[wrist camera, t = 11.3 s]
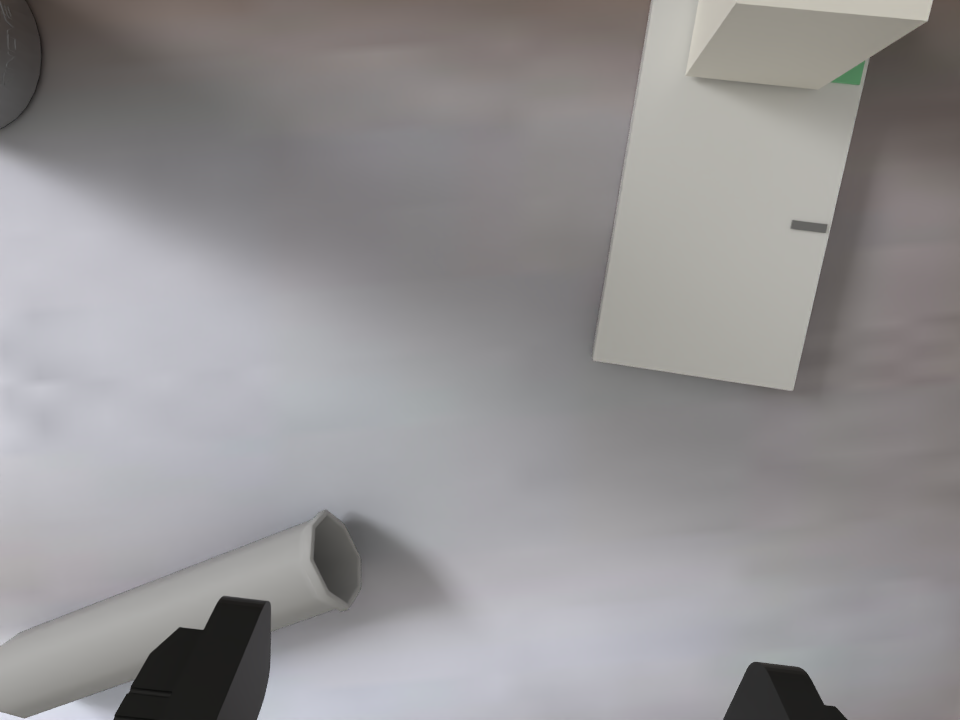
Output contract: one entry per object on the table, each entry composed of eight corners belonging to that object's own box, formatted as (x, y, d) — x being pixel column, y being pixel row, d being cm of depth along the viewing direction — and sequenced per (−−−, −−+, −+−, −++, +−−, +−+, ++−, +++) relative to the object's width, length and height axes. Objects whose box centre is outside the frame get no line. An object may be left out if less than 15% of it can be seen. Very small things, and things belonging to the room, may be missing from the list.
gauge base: (591, 355, 34) (604, 407, 23) (691, -241, 29) (771, -547, 18) (782, 384, 33) (894, 453, 22) (922, -228, 28) (1159, -545, 17)
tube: (3, 747, 40) (353, 627, 35) (-63, 696, 37) (300, 560, 32) (55, 670, 44) (369, 555, 39) (-2, 621, 42) (323, 493, 37)
